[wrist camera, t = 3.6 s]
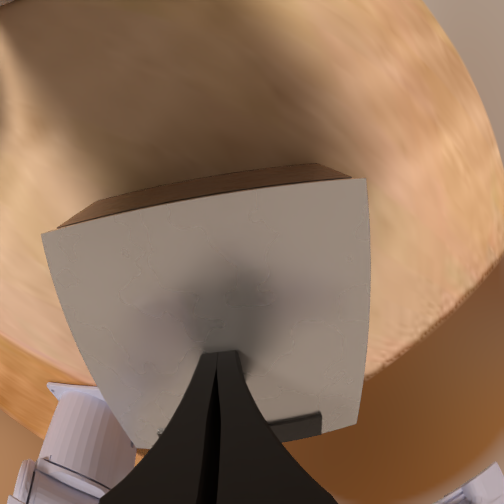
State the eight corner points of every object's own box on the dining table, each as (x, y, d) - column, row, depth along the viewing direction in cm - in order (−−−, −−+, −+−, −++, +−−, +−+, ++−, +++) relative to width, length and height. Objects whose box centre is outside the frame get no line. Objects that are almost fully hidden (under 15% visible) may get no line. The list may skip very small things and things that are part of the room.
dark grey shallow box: (319, 338, 19) (338, 383, 15) (156, 360, 18) (146, 407, 14) (316, 163, 13) (351, 177, 10) (96, 201, 13) (56, 227, 9)
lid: (350, 411, 12) (357, 426, 11) (140, 435, 12) (135, 450, 11) (353, 178, 9) (368, 177, 8) (54, 229, 9) (37, 235, 8)
